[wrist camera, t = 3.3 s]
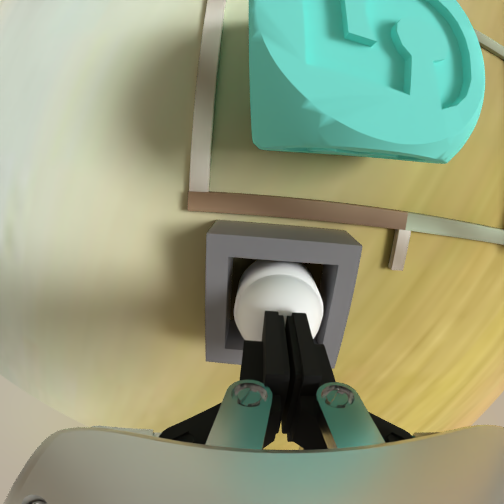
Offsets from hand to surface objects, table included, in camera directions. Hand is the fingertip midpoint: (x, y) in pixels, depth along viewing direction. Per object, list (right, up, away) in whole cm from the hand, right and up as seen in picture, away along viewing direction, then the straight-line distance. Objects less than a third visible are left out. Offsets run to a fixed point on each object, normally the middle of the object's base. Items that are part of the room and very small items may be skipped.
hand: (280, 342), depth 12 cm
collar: (0, +2, +5) cm, 5 cm away
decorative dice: (+3, +13, +2) cm, 13 cm away
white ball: (0, +2, +4) cm, 4 cm away
